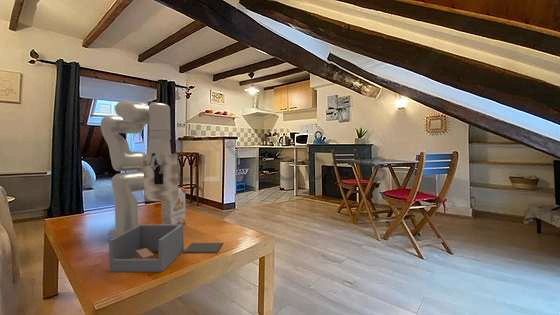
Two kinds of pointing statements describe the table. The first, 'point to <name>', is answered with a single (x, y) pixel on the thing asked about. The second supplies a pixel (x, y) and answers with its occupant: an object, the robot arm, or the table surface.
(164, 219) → the cracker box
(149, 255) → the upper offcut
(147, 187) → the tall board
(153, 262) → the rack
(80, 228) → the table surface
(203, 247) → the mat
